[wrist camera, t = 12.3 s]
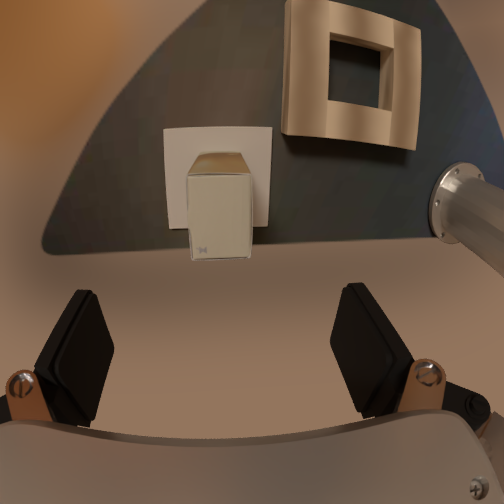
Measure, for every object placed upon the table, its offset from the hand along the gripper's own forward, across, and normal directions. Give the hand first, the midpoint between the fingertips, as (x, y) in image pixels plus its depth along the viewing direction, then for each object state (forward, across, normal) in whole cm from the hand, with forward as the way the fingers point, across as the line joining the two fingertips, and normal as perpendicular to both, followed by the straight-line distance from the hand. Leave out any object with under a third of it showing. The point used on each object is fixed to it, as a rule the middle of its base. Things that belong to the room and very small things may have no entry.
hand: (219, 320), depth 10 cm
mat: (+22, 0, 0) cm, 22 cm away
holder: (+22, -14, -12) cm, 29 cm away
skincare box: (+22, 0, 0) cm, 22 cm away
